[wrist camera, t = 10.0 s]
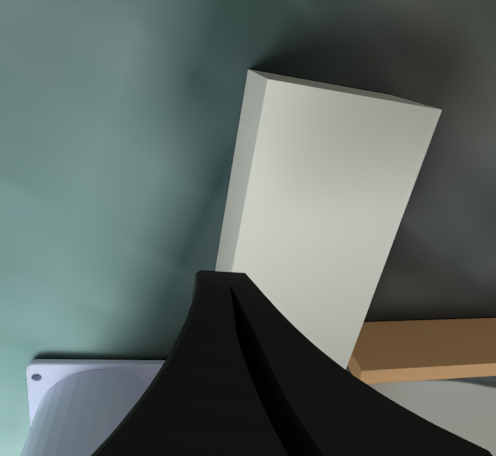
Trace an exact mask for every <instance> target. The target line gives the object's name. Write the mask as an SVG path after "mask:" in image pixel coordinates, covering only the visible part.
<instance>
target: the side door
mask: <svg viewBox="0 0 496 456" xmlns="http://www.w3.org/2000/svg"><path fill="white" fill-rule="evenodd" d="M348 367H349V369H350V371H351V373H352V374H353V375H354V376H355V377H357V378H358V379H360V380H361V381H363V382H364V383H366V384H375V383H390V382H405V381H421V380H436V379H451V378H466V377H482V376H496V318H476V319H445V320H414V321H383V322H363V325H362V327H361V330H360V333H359V335H358V338H357V341H356V344H355V346H354V349H353V352H352V354H351V357H350V360H349V362H348Z"/></svg>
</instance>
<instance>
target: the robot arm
mask: <svg viewBox="0 0 496 456" xmlns="http://www.w3.org/2000/svg"><path fill="white" fill-rule="evenodd" d="M26 372H27V385H28V398H29V411H30V424H31V427H30V430H29V433H28V435H27V438H26V441H25V444H24V446H23V449H22V452H21V455H20V456H492V455H491V453H490V452H489V451H488V450H486V449H484V448H482V447H479V446H478V445H476V444H474V443H471V442H469V441H467V440H465V439H463V438H461V437H459V436H457V435H455V434H453V433H451V432H449V431H447V430H445V429H443V428H440V427H439V426H436V425H435V424H433V423H431V422H429V421H427V420H425V419H423V418H422V417H420V416H418V415H416V414H415V413H413V412H411V411H409V410H407V409H406V408H404V407H402V406H400V405H399V404H397V403H395V402H394V401H392V400H390V399H389V398H387V397H385V396H384V395H382V394H381V393H379V392H377V391H376V390H375V389H373V388H371V387H370V386H369V385H367V384H366V383H364V382H363V381H361V380H360V379H358V378H357V377H355V376H354V375H352V374H351V373H350V372H348V371H347V370H345V369H344V368H343V367H341V366H340V365H339V364H338V363H336V362H335V361H334V360H332V359H331V358H330V357H329V356H327V355H326V354H325V353H324V352H322V351H321V350H320V349H319V348H318V347H316V346H315V345H314V344H313V343H312V342H311V341H310V340H309V339H307V338H306V337H305V336H304V335H303V334H302V333H301V332H300V331H299V330H298V329H297V328H296V327H295V326H294V325H293V324H292V323H291V322H290V321H289V320H288V319H287V318H286V317H285V316H284V315H283V314H282V313H281V312H280V311H279V310H278V309H277V308H276V307H275V306H274V305H273V304H272V303H271V301H270V300H269V299H268V298H267V297H266V296H265V295H264V294H263V293H262V291H261V290H260V289H259V288H258V287H257V286H256V284H255V283H254V282H253V281H252V280H251V279H250V278H249V277H248V275H247V274H246V273H239V272H222V271H205V270H200V271H199V272H197V273H196V276H195V283H194V290H193V298H192V305H191V308H190V311H189V314H188V316H187V319H186V321H185V323H184V326H183V328H182V330H181V332H180V334H179V337H178V339H177V341H176V342H175V344H174V346H173V348H172V350H171V352H170V354H169V355H168V357H167V359H166V360H74V359H35V360H32V361H30V362H29V364H28V366H27V369H26ZM35 374H39V376H38V375H35Z"/></svg>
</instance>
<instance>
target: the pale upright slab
mask: <svg viewBox="0 0 496 456" xmlns="http://www.w3.org/2000/svg"><path fill="white" fill-rule="evenodd" d="M441 111H442V110H441V109H437V108H434V107H430V106H427V105H423V104H420V103H417V102H413V101H410V100H406V99H403V98H400V97H396V96H393V95H388V94H383V93H377V92H372V91H366V90H361V89H355V88H349V87H344V86H338V85H333V84H327V83H322V82H316V81H311V80H305V79H300V78H294V77H289V76H283V75H278V74H272V73H267V72H261V71H255V70H250V69H248V73H247V79H246V85H245V91H244V97H243V103H242V110H241V116H240V122H239V128H238V134H237V140H236V146H235V152H234V158H233V164H232V170H231V176H230V183H229V189H228V195H227V201H226V207H225V213H224V219H223V225H222V231H221V237H220V243H219V249H218V256H217V262H216V268H215V271H222V272H239V273H246V274H247V275H248V277H249V278H250V279H251V280H252V281H253V282H254V283H255V284H256V286H257V287H258V288H259V289H260V290H261V291H262V293H263V294H264V295H265V296H266V297H267V298H268V299H269V300H270V301H271V303H272V304H273V305H274V306H275V307H276V308H277V309H278V310H279V311H280V312H281V313H282V314H283V315H284V316H285V317H286V318H287V319H288V320H289V321H290V322H291V323H292V324H293V325H294V326H295V327H296V328H297V329H298V330H299V331H300V332H301V333H302V334H303V335H304V336H305V337H306V338H307V339H309V340H310V341H311V342H312V343H313V344H314V345H315V346H316V347H318V348H319V349H320V350H321V351H322V352H324V353H325V354H326V355H327V356H329V357H330V358H331V359H332V360H334V361H335V362H336V363H338V364H339V365H340V366H341V367H343V368H344V369H345V370H346V368H347V365H348V362H349V360H350V357H351V354H352V352H353V349H354V346H355V344H356V341H357V338H358V335H359V333H360V330H361V327H362V325H363V322H364V319H365V317H366V314H367V311H368V308H369V306H370V303H371V300H372V298H373V295H374V292H375V290H376V287H377V284H378V281H379V279H380V276H381V273H382V271H383V268H384V265H385V262H386V260H387V257H388V254H389V252H390V249H391V246H392V244H393V241H394V238H395V235H396V233H397V230H398V227H399V225H400V222H401V219H402V217H403V214H404V211H405V208H406V206H407V203H408V200H409V198H410V195H411V192H412V190H413V187H414V184H415V181H416V179H417V176H418V173H419V171H420V168H421V165H422V163H423V160H424V157H425V154H426V152H427V149H428V146H429V144H430V141H431V138H432V136H433V133H434V130H435V127H436V125H437V122H438V119H439V117H440V114H441Z"/></svg>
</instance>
